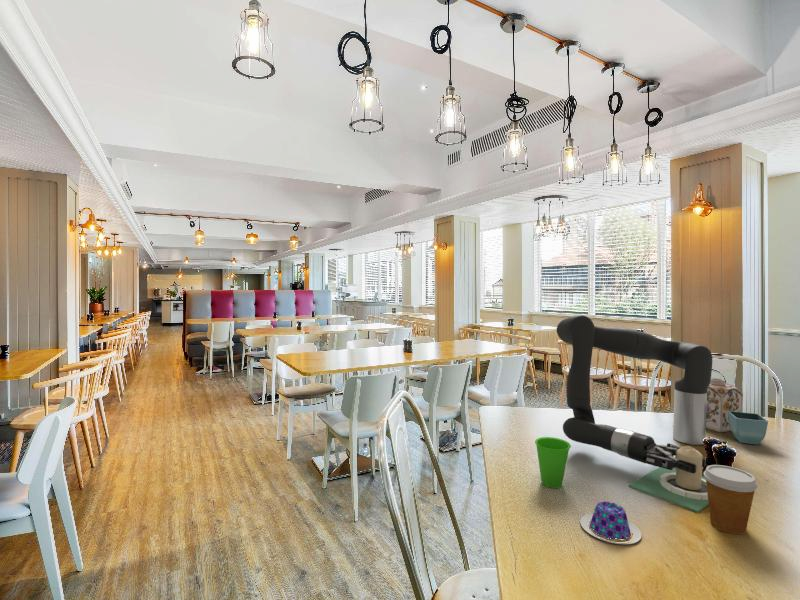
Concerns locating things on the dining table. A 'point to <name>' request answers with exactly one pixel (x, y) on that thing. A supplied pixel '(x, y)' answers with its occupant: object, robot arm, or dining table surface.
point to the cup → (552, 460)
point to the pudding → (610, 523)
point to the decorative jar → (721, 404)
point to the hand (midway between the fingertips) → (700, 466)
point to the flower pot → (748, 427)
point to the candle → (685, 477)
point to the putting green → (672, 489)
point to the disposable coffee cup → (729, 497)
